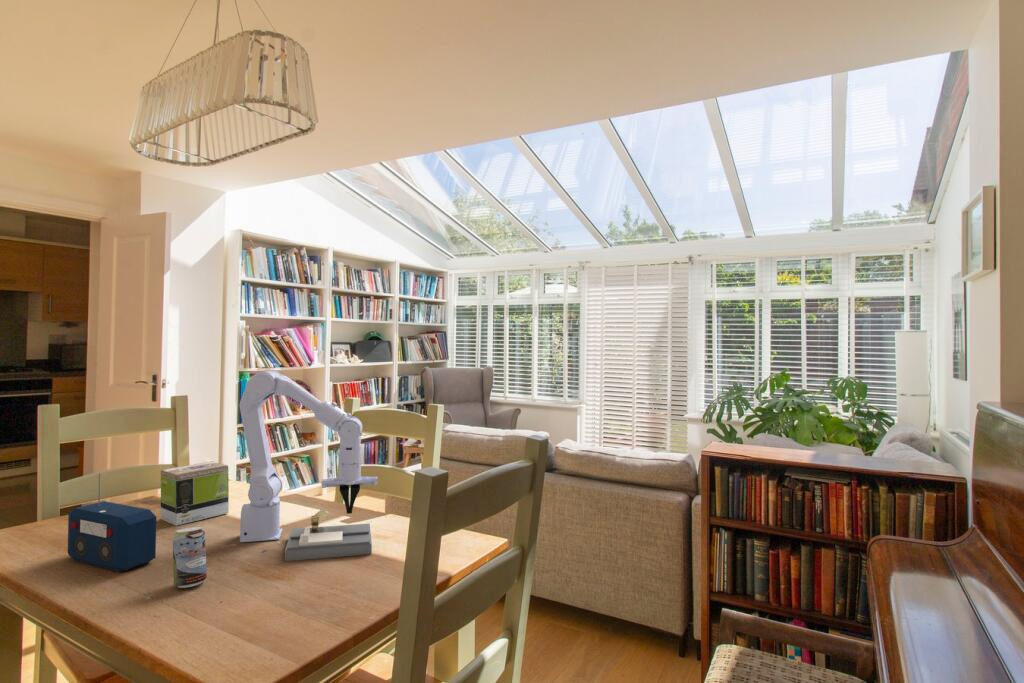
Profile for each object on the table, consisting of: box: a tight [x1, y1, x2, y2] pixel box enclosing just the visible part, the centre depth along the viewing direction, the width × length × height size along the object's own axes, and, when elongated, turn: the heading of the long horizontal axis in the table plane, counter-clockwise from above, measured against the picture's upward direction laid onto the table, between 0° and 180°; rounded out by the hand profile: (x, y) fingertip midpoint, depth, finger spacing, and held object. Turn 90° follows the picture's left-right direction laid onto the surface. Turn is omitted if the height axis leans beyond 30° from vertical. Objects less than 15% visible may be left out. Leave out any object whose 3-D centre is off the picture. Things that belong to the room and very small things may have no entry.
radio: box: [67, 473, 157, 573], centre depth 131 cm, size 21×9×20 cm, turn 68°
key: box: [310, 509, 327, 531], centre depth 149 cm, size 7×2×4 cm, turn 178°
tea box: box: [160, 460, 230, 527], centre depth 164 cm, size 15×10×15 cm, turn 144°
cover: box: [299, 527, 343, 546], centre depth 139 cm, size 10×6×3 cm, turn 106°
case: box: [284, 523, 373, 562], centre depth 143 cm, size 20×16×3 cm
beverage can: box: [172, 526, 208, 589], centre depth 119 cm, size 6×7×12 cm
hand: (349, 512), depth 152 cm, fingers closed
